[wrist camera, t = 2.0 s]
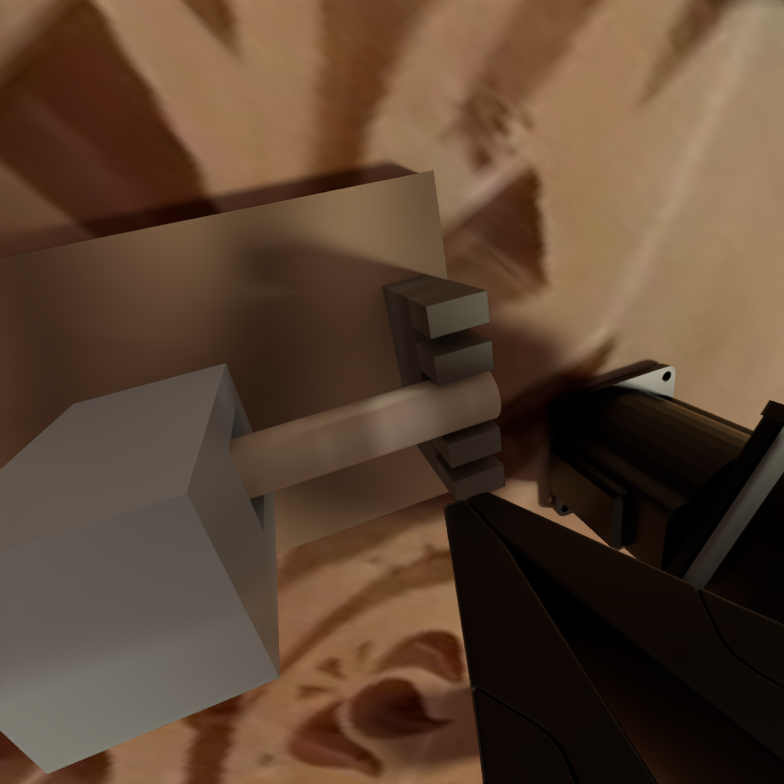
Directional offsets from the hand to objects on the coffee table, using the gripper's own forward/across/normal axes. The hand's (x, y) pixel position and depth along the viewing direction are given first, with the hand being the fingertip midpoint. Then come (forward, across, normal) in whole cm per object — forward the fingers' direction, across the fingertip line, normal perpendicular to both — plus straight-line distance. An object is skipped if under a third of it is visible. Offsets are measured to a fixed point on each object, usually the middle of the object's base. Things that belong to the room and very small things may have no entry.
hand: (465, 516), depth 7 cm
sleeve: (+6, +6, 0) cm, 9 cm away
